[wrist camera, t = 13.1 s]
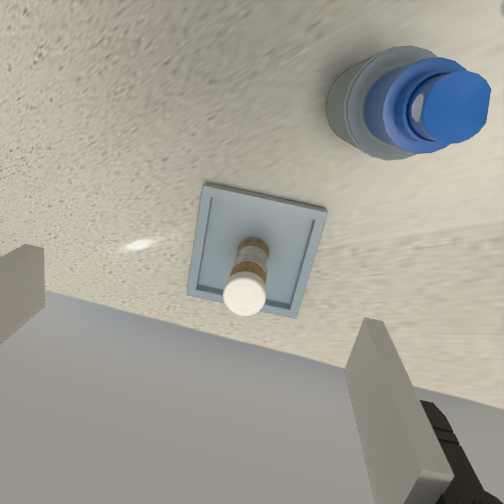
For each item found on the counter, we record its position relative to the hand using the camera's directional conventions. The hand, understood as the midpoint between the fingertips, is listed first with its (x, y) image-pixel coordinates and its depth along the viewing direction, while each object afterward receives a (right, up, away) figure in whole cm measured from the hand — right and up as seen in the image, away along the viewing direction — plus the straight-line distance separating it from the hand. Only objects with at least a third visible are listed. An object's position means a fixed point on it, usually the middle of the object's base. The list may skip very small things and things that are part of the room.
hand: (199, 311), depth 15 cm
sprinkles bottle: (+2, +2, +36) cm, 36 cm away
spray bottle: (+15, +20, +29) cm, 38 cm away
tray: (+2, +3, +36) cm, 36 cm away
